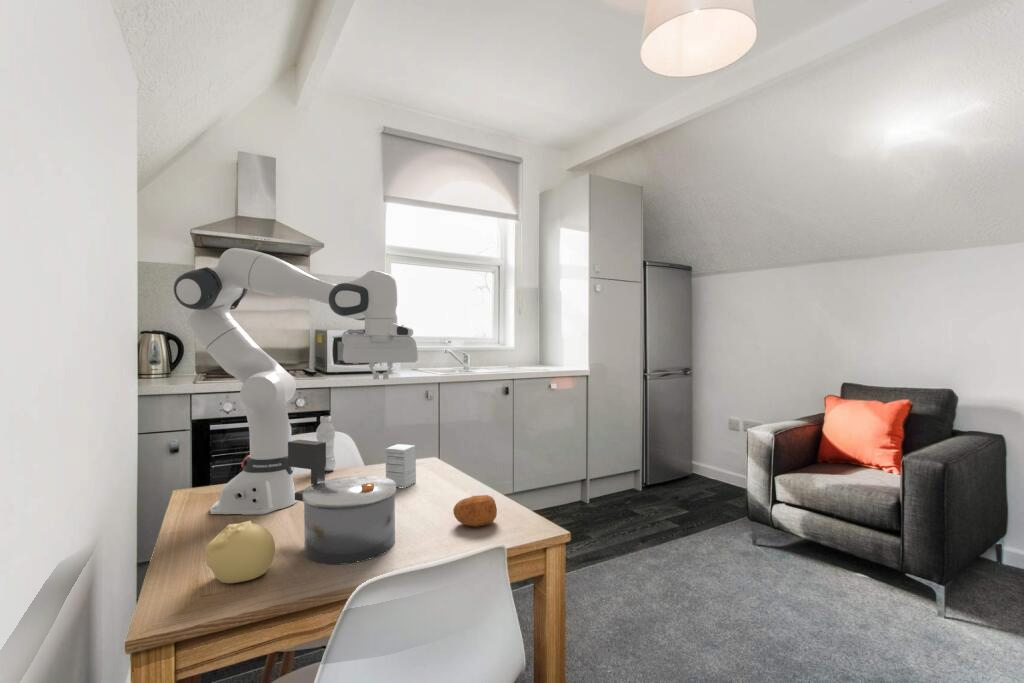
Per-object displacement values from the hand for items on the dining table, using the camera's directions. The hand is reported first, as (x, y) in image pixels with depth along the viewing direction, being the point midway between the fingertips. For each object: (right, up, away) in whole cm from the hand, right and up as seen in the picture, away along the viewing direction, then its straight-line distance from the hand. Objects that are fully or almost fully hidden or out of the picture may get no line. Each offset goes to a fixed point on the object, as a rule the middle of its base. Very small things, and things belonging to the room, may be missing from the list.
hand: (380, 379), depth 138 cm
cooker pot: (-4, -37, -21) cm, 43 cm away
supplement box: (0, -37, +26) cm, 45 cm away
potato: (+27, -37, -10) cm, 47 cm away
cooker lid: (-5, -25, -21) cm, 33 cm away
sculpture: (-18, -37, -37) cm, 56 cm away
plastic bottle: (-32, -37, +44) cm, 65 cm away
